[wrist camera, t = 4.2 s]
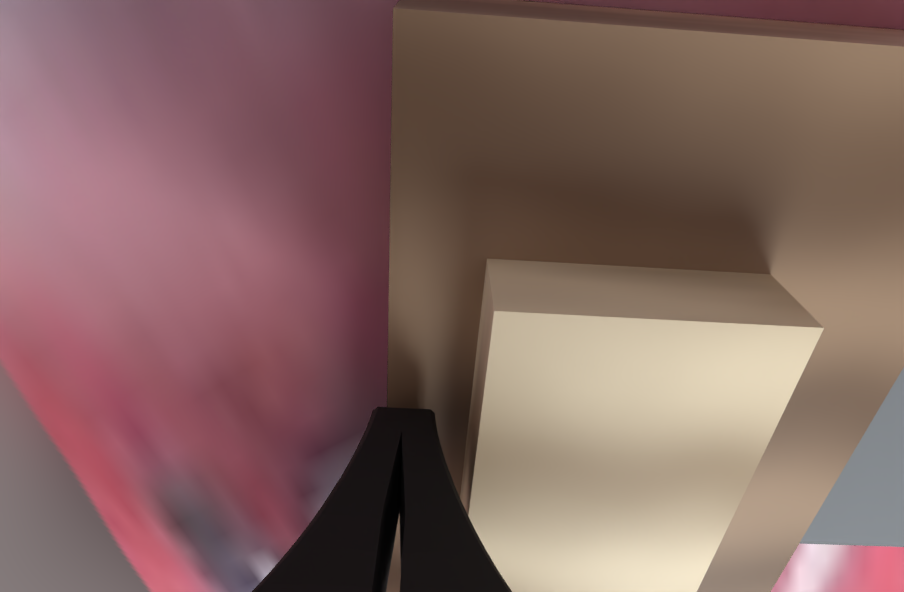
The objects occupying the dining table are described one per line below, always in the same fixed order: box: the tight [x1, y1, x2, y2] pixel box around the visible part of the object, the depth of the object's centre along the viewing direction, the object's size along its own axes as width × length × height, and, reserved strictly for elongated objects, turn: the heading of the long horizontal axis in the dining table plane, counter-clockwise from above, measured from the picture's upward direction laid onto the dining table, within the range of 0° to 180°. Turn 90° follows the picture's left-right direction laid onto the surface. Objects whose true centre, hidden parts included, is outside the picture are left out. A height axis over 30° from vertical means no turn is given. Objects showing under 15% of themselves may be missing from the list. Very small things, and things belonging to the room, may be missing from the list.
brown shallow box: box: [386, 0, 904, 592], centre depth 16 cm, size 18×12×4 cm, turn 176°
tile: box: [460, 259, 824, 592], centre depth 14 cm, size 9×6×2 cm, turn 176°
